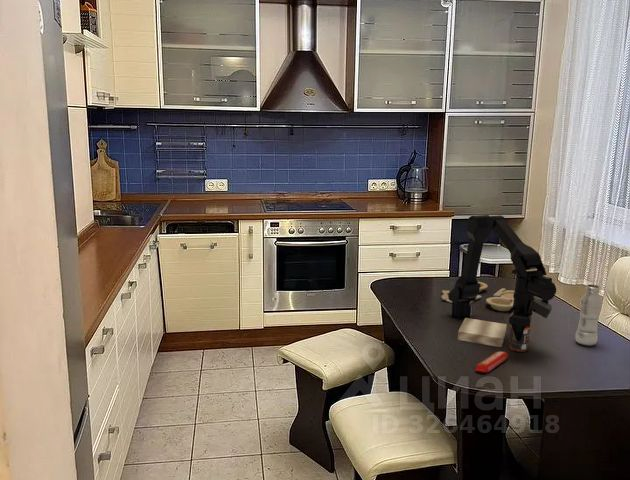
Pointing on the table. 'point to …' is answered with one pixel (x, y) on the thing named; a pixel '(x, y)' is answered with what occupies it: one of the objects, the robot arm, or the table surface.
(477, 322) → the birch base block
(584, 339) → the plastic bottle
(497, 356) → the candy bar
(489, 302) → the tableware set
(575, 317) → the table surface
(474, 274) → the robot arm
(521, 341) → the supplement bottle
